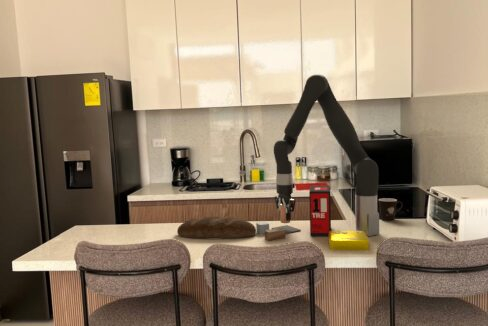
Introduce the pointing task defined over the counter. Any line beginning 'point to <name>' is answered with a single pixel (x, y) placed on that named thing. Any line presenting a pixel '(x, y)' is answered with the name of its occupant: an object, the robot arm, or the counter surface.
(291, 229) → the charcoal mat
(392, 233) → the counter surface
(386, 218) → the coffee mug
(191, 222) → the bread
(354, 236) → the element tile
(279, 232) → the walnut block
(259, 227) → the blue-grey cube
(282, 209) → the terracotta cylinder
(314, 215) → the cleaning product box
